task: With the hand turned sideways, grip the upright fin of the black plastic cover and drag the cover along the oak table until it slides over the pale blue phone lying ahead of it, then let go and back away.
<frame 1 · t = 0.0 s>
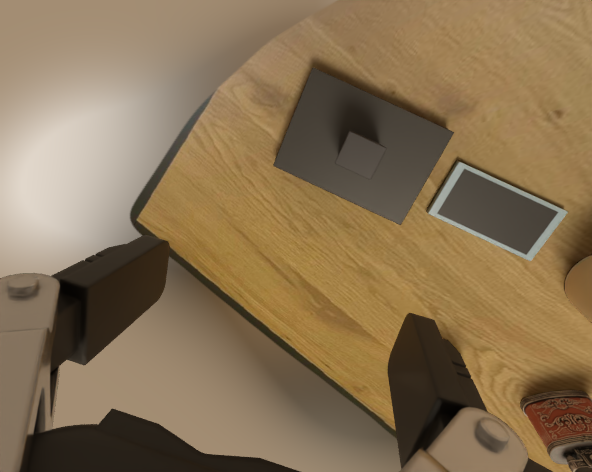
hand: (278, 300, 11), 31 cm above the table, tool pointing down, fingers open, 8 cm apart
cover: (358, 148, 39), on the table
phone: (492, 210, 39), on the table
lighter: (552, 400, 45), on the table
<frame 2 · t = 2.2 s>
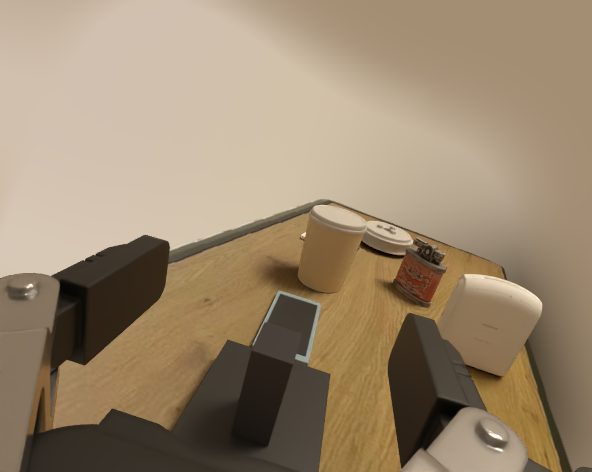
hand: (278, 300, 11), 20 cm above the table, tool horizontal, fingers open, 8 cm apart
coffee cup: (318, 281, 58), on the table
cover: (249, 443, 28), on the table
phone: (289, 327, 44), on the table
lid: (381, 247, 82), on the table
lighter: (410, 294, 62), on the table
photo printer: (464, 359, 47), on the table
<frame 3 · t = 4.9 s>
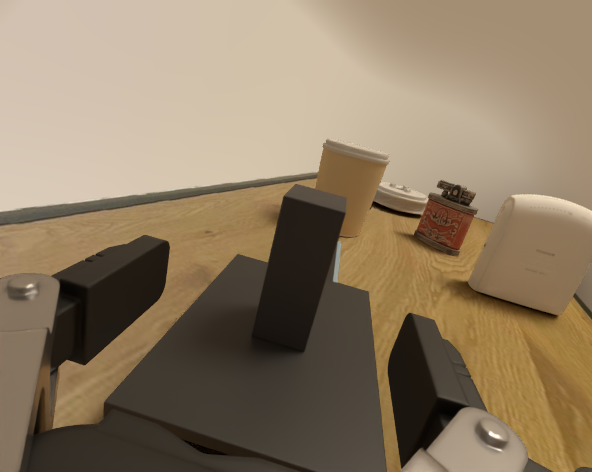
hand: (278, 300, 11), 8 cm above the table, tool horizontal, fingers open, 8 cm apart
coffee cup: (333, 228, 51), on the table
cover: (274, 362, 21), on the table
phone: (308, 260, 37), on the table
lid: (394, 209, 76), on the table
lighter: (434, 245, 55), on the table
photo printer: (510, 300, 40), on the table
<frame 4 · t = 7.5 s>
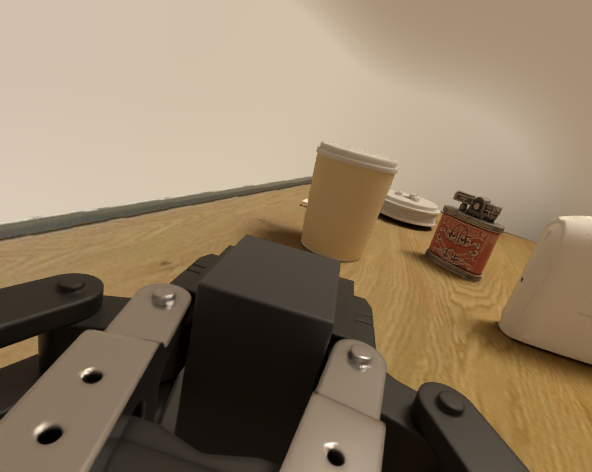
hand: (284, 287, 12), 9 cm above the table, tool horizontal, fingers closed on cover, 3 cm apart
coffee cup: (330, 248, 42), on the table
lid: (400, 219, 67), on the table
lighter: (450, 268, 46), on the table
photo printer: (553, 348, 32), on the table
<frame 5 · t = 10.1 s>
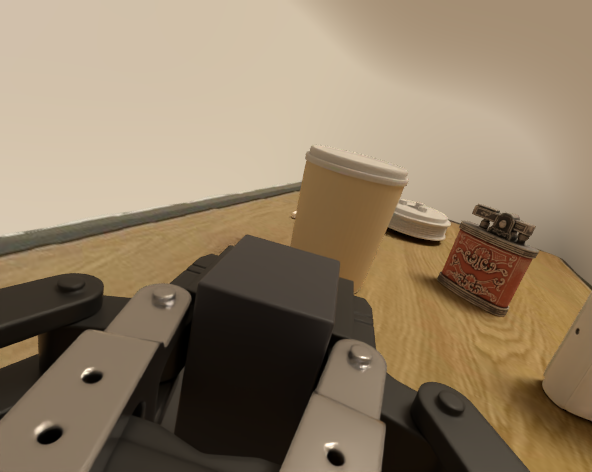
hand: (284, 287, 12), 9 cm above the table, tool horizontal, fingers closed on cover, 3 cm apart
coffee cup: (323, 277, 34), on the table
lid: (405, 231, 59), on the table
lighter: (468, 296, 39), on the table
when the fingers open (9 cm above the table, at t = 12.7 s): cover stays where it is, on the table.
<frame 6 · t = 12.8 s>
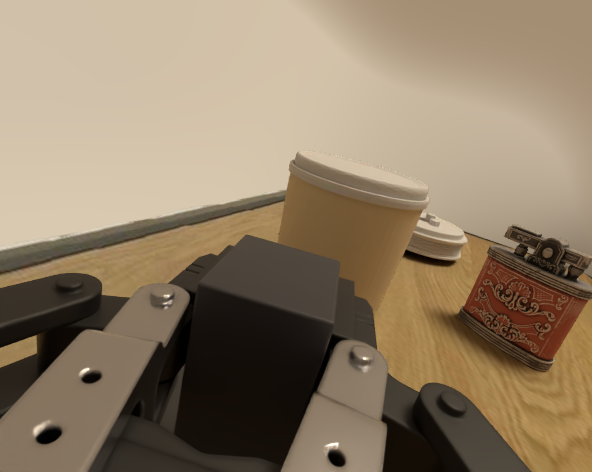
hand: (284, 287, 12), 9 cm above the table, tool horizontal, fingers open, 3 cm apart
coffee cup: (314, 321, 26), on the table
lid: (413, 247, 51), on the table
lighter: (498, 340, 31), on the table
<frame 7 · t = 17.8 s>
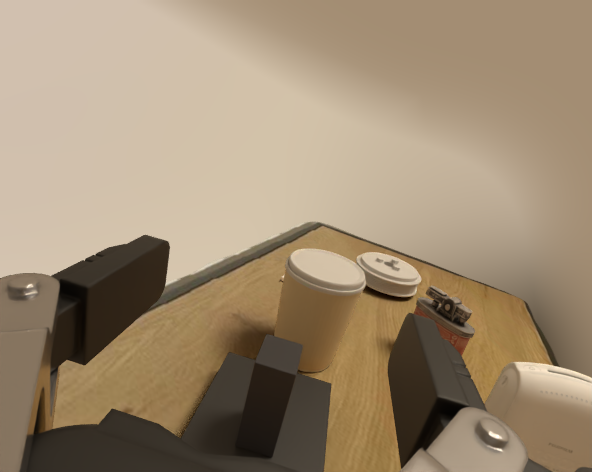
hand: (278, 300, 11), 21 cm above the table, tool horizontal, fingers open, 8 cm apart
coffee cup: (302, 351, 43), on the table
cover: (253, 455, 28), on the table
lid: (382, 284, 67), on the table
lighter: (424, 361, 47), on the table
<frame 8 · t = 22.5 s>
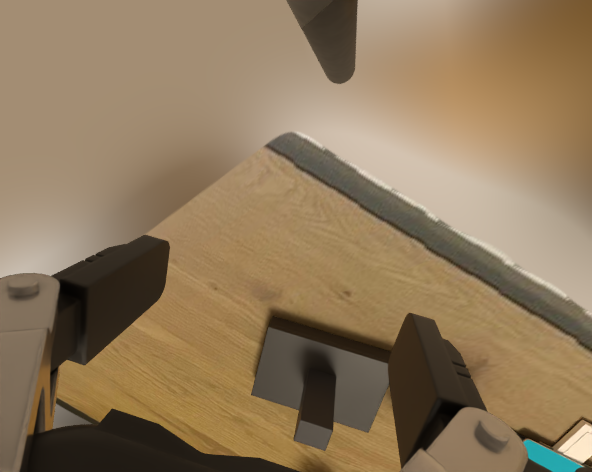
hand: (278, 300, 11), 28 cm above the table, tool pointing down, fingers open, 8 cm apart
cover: (321, 367, 45), on the table
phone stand: (560, 454, 44), on the table
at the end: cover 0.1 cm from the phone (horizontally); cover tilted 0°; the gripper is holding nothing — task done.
